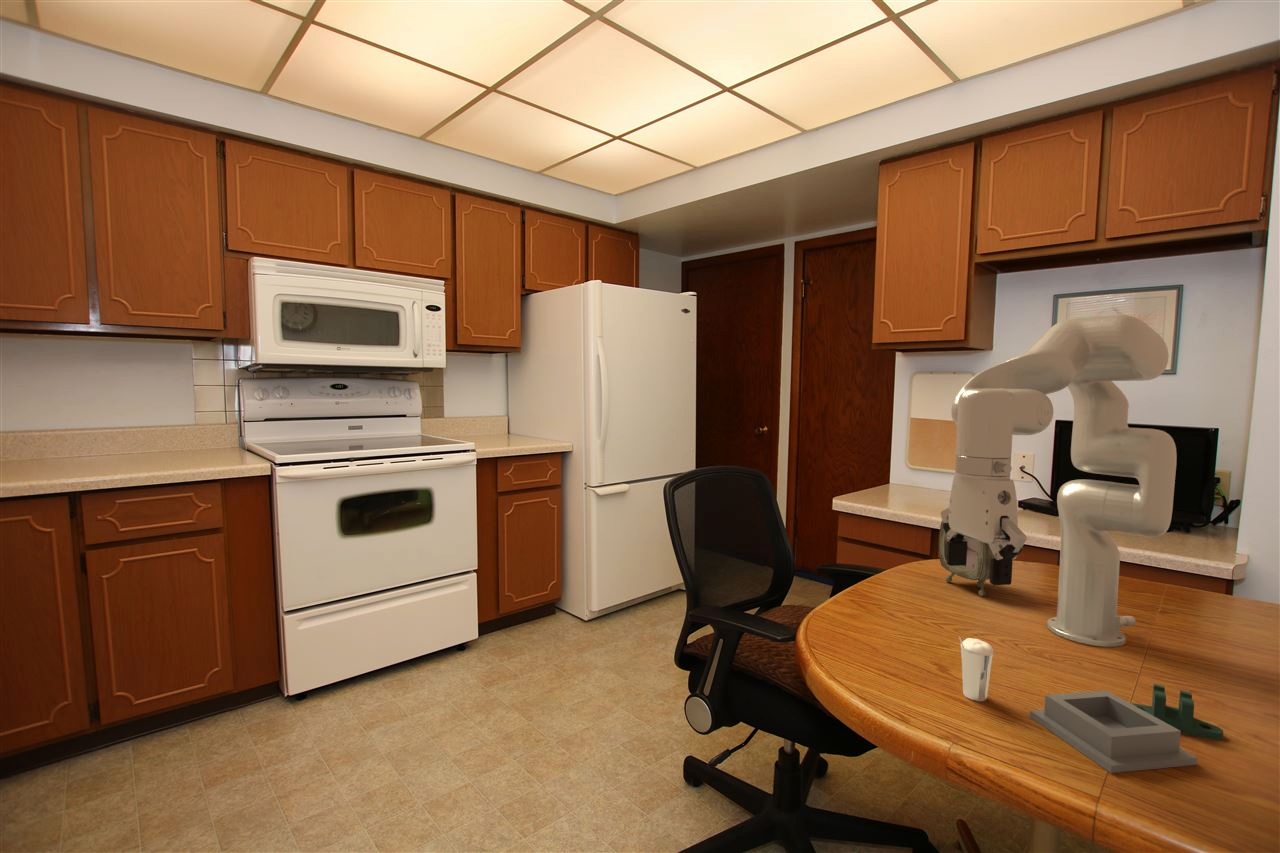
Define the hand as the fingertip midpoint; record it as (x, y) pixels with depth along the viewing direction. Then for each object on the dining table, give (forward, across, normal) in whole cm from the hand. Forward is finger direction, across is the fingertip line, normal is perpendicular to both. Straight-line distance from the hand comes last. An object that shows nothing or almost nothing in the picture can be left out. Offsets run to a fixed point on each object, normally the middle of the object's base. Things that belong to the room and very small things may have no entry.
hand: (977, 574), depth 92 cm
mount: (+20, -11, -24) cm, 34 cm away
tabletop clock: (+20, +47, -37) cm, 63 cm away
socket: (+20, -13, -11) cm, 26 cm away
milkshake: (+20, 0, 0) cm, 20 cm away
